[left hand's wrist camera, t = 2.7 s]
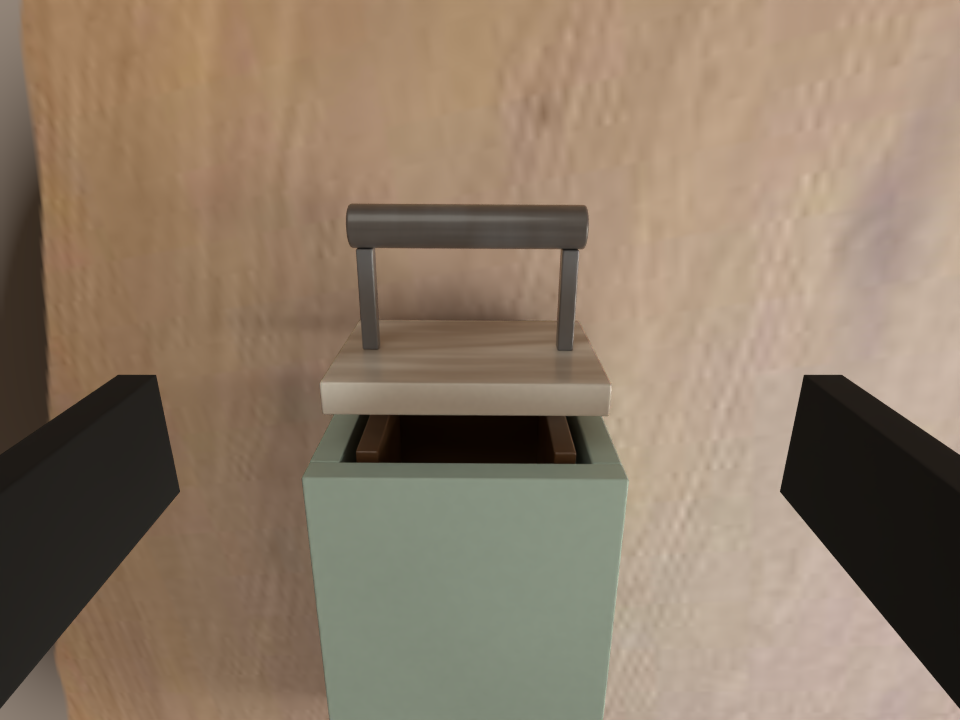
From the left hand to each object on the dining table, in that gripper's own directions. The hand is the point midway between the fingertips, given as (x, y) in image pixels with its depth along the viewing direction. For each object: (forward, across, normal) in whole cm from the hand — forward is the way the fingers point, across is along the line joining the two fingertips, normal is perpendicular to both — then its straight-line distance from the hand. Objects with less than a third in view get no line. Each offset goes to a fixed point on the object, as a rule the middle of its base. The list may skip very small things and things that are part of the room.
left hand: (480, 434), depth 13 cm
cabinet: (+15, 0, -16) cm, 22 cm away
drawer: (+14, 0, -9) cm, 17 cm away
